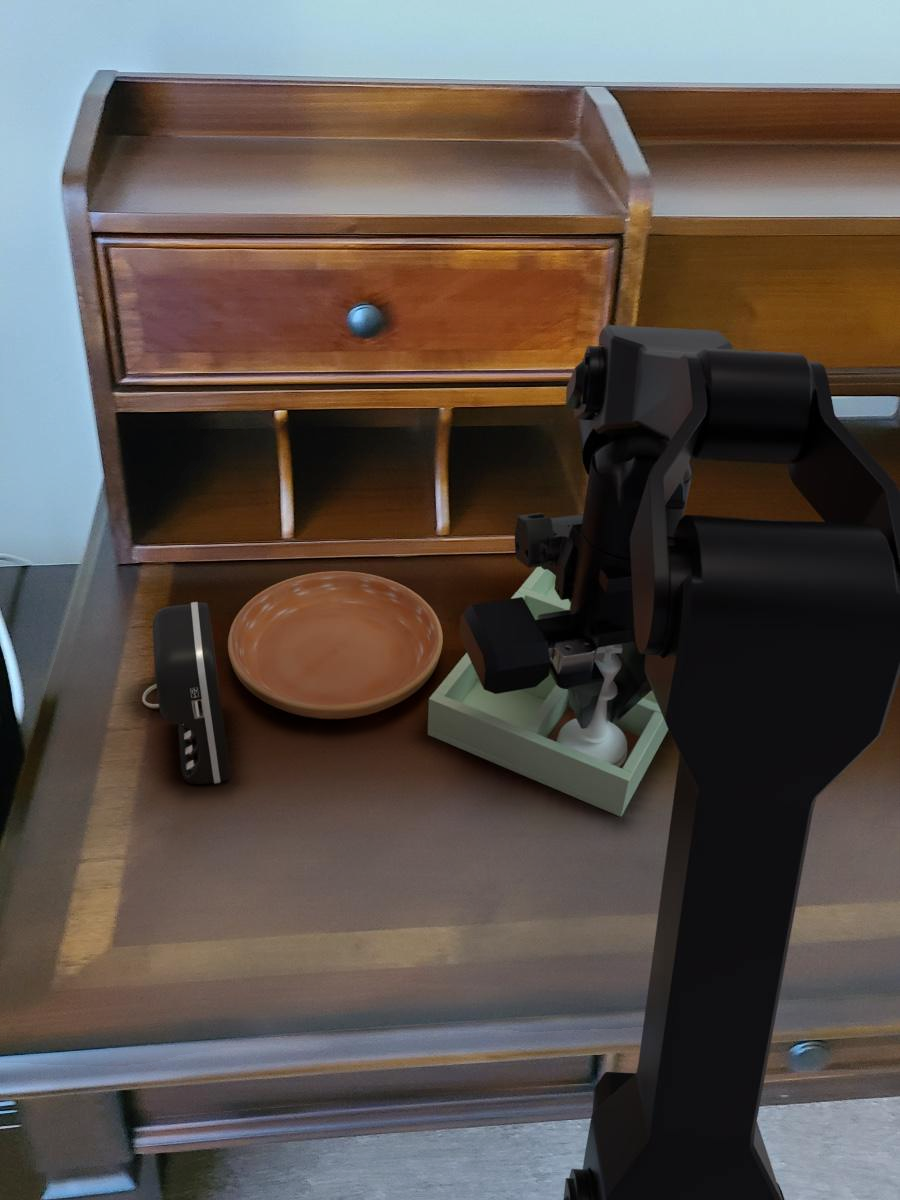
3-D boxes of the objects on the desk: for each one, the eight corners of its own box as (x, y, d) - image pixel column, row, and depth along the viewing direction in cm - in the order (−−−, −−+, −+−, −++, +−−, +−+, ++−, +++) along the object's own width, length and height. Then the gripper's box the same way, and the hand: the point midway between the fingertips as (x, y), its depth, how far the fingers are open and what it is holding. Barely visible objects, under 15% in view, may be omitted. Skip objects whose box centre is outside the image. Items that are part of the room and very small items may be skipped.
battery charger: (168, 721, 76) (146, 596, 69) (222, 713, 77) (206, 589, 70) (173, 795, 71) (149, 667, 64) (231, 786, 72) (214, 659, 64)
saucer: (298, 577, 90) (296, 548, 88) (473, 631, 85) (475, 602, 83) (188, 696, 78) (183, 665, 76) (384, 767, 74) (384, 736, 72)
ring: (151, 675, 79) (187, 678, 78) (155, 687, 79) (191, 690, 78) (133, 699, 77) (169, 703, 76) (137, 711, 77) (174, 715, 76)
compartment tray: (621, 817, 71) (629, 781, 69) (427, 734, 76) (428, 698, 74) (719, 634, 86) (728, 600, 84) (552, 576, 91) (556, 542, 89)
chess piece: (631, 775, 72) (653, 665, 66) (558, 772, 72) (574, 662, 66) (622, 723, 76) (643, 614, 70) (554, 721, 76) (568, 612, 70)
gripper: (708, 447, 71) (669, 626, 81) (439, 479, 67) (432, 666, 76) (796, 540, 63) (740, 728, 73) (496, 585, 58) (479, 779, 68)
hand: (596, 721), depth 73 cm, fingers closed on chess piece
